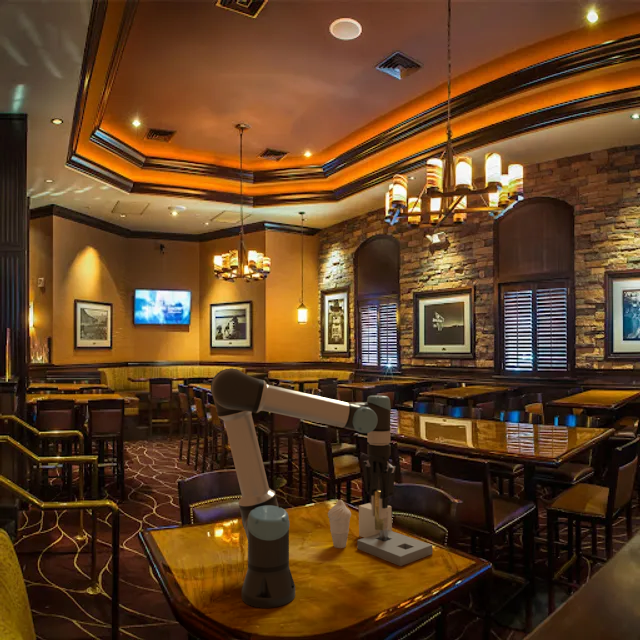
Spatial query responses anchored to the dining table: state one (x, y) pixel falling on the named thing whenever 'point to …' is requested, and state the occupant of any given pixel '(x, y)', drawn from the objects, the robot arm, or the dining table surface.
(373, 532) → the block
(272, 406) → the robot arm
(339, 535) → the soft serve ice cream cone
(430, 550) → the socket board
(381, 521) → the brass pin
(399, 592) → the dining table surface
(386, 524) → the steel pin
